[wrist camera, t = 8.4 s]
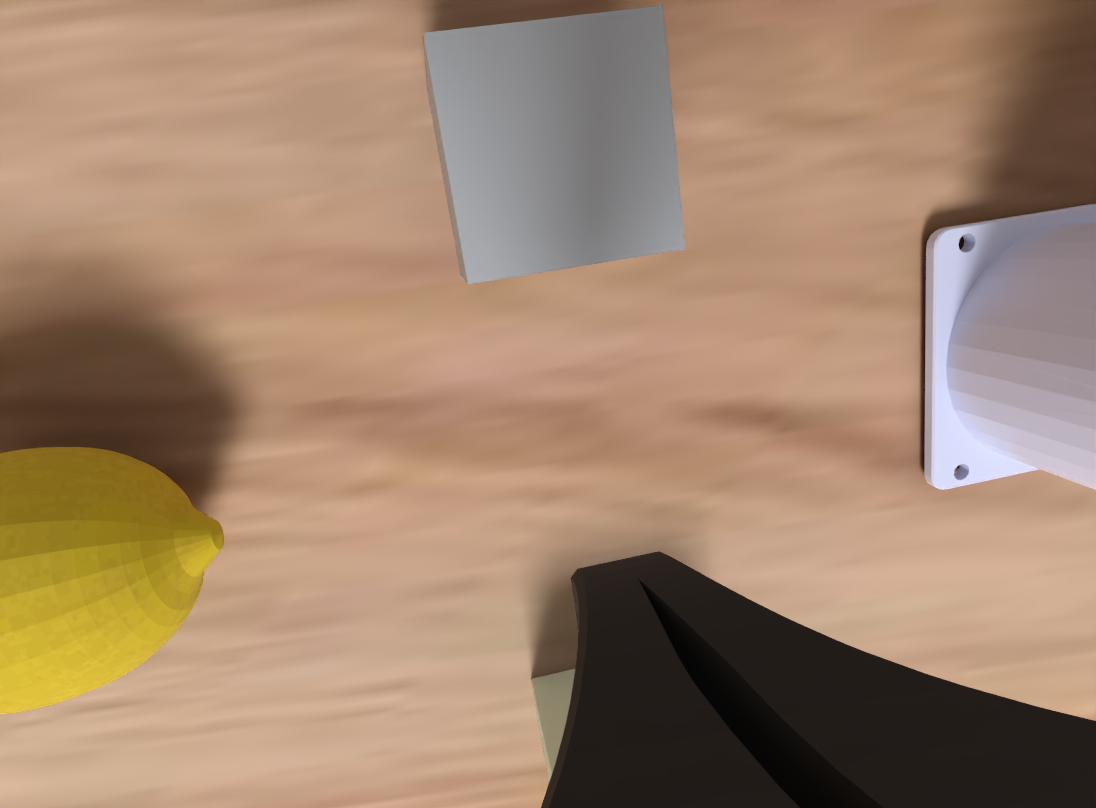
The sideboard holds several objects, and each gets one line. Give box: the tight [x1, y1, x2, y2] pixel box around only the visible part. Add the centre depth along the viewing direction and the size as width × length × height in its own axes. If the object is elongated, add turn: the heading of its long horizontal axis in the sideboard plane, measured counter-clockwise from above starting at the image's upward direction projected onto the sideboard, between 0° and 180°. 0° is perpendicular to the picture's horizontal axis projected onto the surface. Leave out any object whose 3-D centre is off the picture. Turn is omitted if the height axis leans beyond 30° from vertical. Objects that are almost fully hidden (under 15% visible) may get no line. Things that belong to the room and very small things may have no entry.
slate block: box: [423, 5, 685, 284], centre depth 15 cm, size 4×4×4 cm
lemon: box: [0, 447, 224, 714], centre depth 14 cm, size 6×6×8 cm
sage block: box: [531, 669, 575, 782], centre depth 19 cm, size 4×4×4 cm
